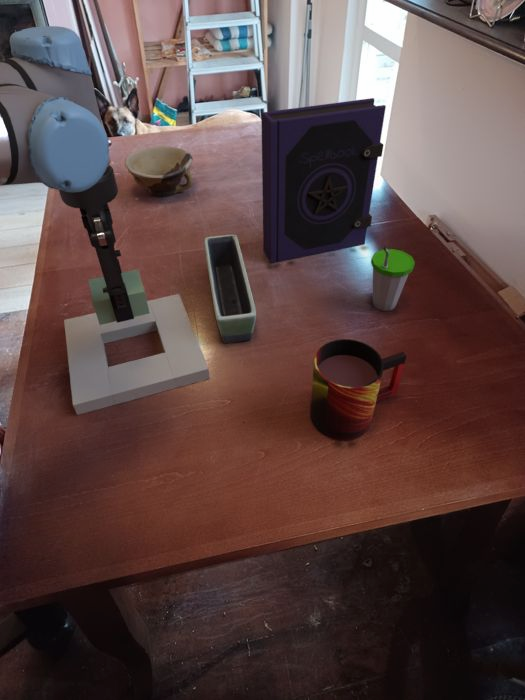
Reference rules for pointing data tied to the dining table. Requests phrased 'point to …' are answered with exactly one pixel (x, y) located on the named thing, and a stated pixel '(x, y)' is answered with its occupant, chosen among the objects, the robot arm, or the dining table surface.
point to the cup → (389, 276)
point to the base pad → (139, 375)
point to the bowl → (161, 169)
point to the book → (318, 176)
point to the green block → (103, 300)
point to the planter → (230, 288)
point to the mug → (349, 387)
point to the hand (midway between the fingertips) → (122, 305)
